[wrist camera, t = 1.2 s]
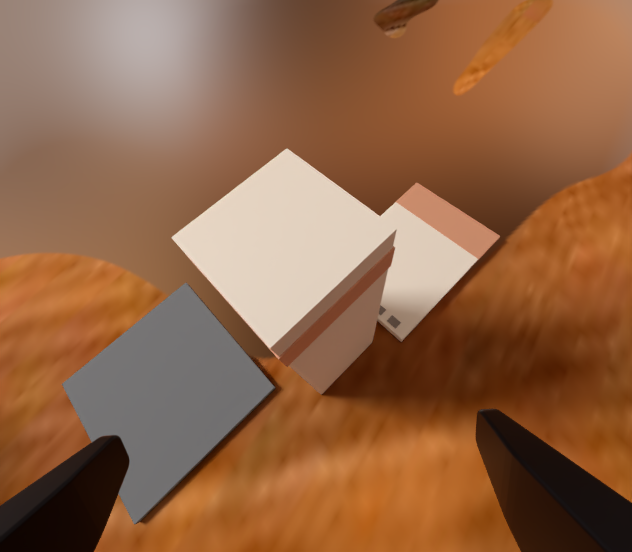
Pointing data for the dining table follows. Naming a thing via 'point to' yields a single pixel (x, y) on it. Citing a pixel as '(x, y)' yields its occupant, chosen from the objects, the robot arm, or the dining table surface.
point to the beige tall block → (297, 265)
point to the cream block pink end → (427, 256)
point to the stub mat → (167, 395)
